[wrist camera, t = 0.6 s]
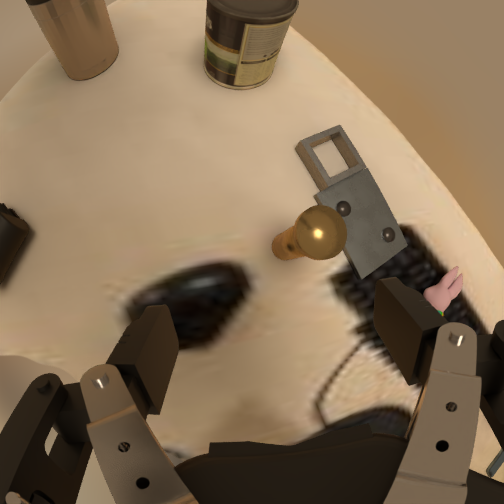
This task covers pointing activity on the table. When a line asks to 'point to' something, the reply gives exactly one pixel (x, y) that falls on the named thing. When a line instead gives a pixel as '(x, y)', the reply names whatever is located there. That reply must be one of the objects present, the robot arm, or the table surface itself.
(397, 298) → the robot arm
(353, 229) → the grey tray fixture
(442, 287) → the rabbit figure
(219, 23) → the coffee can
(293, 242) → the hinge pin
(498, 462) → the smartphone
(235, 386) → the table surface
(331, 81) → the table surface
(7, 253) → the end cap
